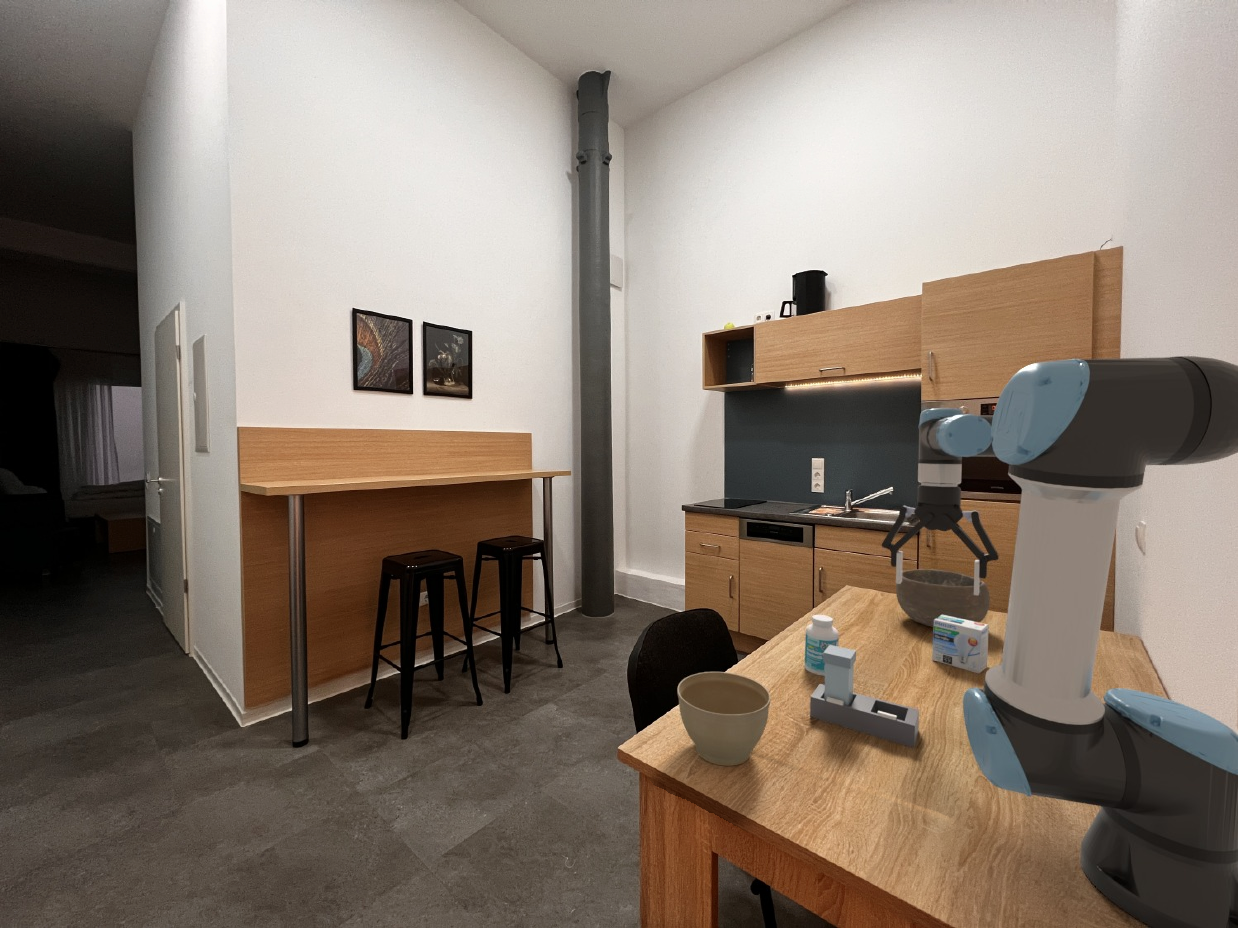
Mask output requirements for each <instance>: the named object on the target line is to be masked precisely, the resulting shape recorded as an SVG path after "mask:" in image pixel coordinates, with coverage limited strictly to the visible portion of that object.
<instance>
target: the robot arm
mask: <svg viewBox="0 0 1238 928" xmlns="http://www.w3.org/2000/svg"><path fill="white" fill-rule="evenodd" d="M1235 454H1238V365H1237V364H1234V363H1231V362H1229V361H1224V360H1223V359H1217V358H1212V357H1202V356H1194V355H1189V356H1188V355H1187V356H1186V355H1184V356H1183V355H1182V356H1179V355H1177V356H1169V357H1167V356H1166V357H1128V358H1125V357H1124V358H1092V359H1088V358H1087V359H1086V358H1083V359H1080V358H1076V357H1075V358H1074V357H1073V358H1072V359H1070V358H1069V359H1062V360H1061V359H1060V360H1050V361H1041V362H1035V363H1031V364H1029V365H1027V366H1025V367H1023V368H1021V369H1020V370H1018V371H1017V372H1016V373H1014V375H1013V376H1012V377H1011V378H1010V380H1009V381H1008V383H1006V385H1004V388H1003V390H1002V391H1001V394H1000V395H999V397H998V400H997V403H996V406H995V408H994V411H993V415H986V414H985V415H984V414H983V415H977V414H973V413H966V414H965V413H964V412H963V411H962V410H961V409H959V408H955V407H954V408H951V407H948V408H946V407H945V408H944V407H943V408H942V407H941V408H931V409H929V408H927V409H925V410H923V411H921V413H920V416H919V424H918V464H917V465H918V466H917V467H918V469H917V481H918V482H919V483H920V485H918V486H917V499H916V500H917V504H916V506H915V507H910V506H907V505H902V506H900V507H899V512H898V516H897V519H896V520H895V522H894V523H893V525H892V527H891V528H890V530H889V531H888V534H887V535H886V536H885V538H884V540H883V541H882V542H881V547H882V548H883V549H886V550H889V551H890V565H891V567H895V570H896V571H895V572H896V573H895V584H896V583H897V584H900V583H901V582H902V572H903V567H904V564H903V563H904V561H903V557H904V556H903V555H904V551H902V550H900V549H901V548H902V547H903V546H905V544H906V543H908V541H910V540H911V539H912V538H913V537H914V536H915V535H916V534H918V532H919V531H921V530H922V529H923V528H925V529H927V530H928V531H936V530H937V531H941V532H949V531H952V532H953V533H954V534H955V535H956V537H958V538H959V539H960V541H961V542H962V543H963V544H964V545H965V546H966V547H967V548H968V550H969V551H970V552H972V554H973V555H974V556H975V557H976V559H975V560H974V574H973V575H974V576H973V578H974V595H977V596H978V595H979V582H980V581H981V580H980V579H983V580H984V579H986V578H987V575H988V562H991V561H998V560H999V553H998V551H997V549H996V548H995V545H994V543H993V542H992V540H991V538H990V537H989V535H988V533H987V531H986V529H985V527H984V525H983V524H982V522H981V517H980V511H979V510H976V509H975V510H972V511H970V510H969V511H968V510H967V511H963V510H962V508H961V507H962V506H961V501H962V498H961V497H962V489H961V487H960V486H959V485H960V484H961V483H962V469H963V468H962V465H963V464H962V463H963V462H962V461H963V460H962V459H963V457H965V458H969V457H970V458H971V457H995V458H997V459H998V460H999V461H1000V462H1003V463H1006V464H1007V465H1008V473H1007V475H1008V476H1009V477H1010V478H1011V479H1012V480H1013V481H1014V482H1015V483H1016V484H1017V485H1018V486H1019V487H1020V488H1021V495H1020V506H1019V515H1018V523H1017V530H1016V538H1015V548H1014V555H1013V562H1012V563H1013V564H1012V573H1011V583H1010V589H1009V599H1008V605H1007V615H1006V622H1005V631H1004V640H1003V649H1002V657H1001V663H1000V664H999V663H998V664H997V665H994V666H991V667H990V668H989V669H987V671H986V672H985V676H984V679H985V680H984V686H983V688H979V687H976V686H975V687H972V688H968V689H966V691H964V694H963V697H962V698H963V699H962V709H963V710H962V711H963V719H964V725H965V730H966V734H967V738H968V742H969V745H970V746H969V747H970V748H971V751H972V754H973V756H974V759H975V761H976V763H977V765H978V768H979V769H980V771H981V773H982V774H983V776H984V777H985V778H986V780H987V781H989V783H991V784H992V785H993V786H995V787H997V788H999V789H1001V790H1006V791H1010V792H1013V793H1014V792H1015V793H1018V794H1024V795H1025V796H1026V797H1032V796H1035V797H1036V796H1037V797H1042V798H1048V799H1055V800H1059V801H1065V802H1066V801H1067V802H1073V803H1080V804H1086V805H1091V806H1097V807H1100V809H1099V810H1098V813H1097V814H1096V816H1095V817H1094V819H1093V821H1092V823H1091V825H1090V826H1089V828H1088V829H1087V831H1086V833H1085V834H1084V836H1083V838H1082V841H1081V845H1080V865H1081V868H1082V871H1083V872H1084V874H1085V876H1086V875H1087V876H1086V877H1087V879H1088V880H1089V879H1090V880H1089V881H1090V882H1091V883H1092V885H1094V886H1096V887H1095V888H1096V889H1097V890H1098V891H1099V892H1100V891H1101V892H1102V893H1101V894H1102V895H1103V896H1105V897H1106V898H1107V899H1108V900H1109V901H1111V902H1112V903H1113V904H1114V905H1116V906H1117V907H1119V908H1120V909H1122V910H1123V911H1124V912H1125V913H1128V915H1131V917H1134V918H1135V919H1137V920H1138V921H1140V922H1141V923H1143V922H1144V924H1145V925H1147V926H1149V927H1151V928H1238V733H1237V732H1235V730H1234V729H1232V728H1231V727H1229V726H1228V725H1226V723H1223V722H1221V721H1220V720H1218V719H1216V718H1215V717H1213V716H1211V715H1208V714H1206V713H1204V712H1202V711H1199V710H1197V709H1196V708H1193V707H1190V706H1188V705H1185V704H1182V703H1179V702H1177V701H1175V700H1172V699H1169V698H1165V697H1162V696H1159V695H1155V694H1152V693H1148V692H1144V691H1139V690H1136V689H1129V688H1123V687H1122V688H1121V687H1116V688H1111V689H1110V688H1109V689H1108V690H1107V691H1105V695H1103V701H1104V703H1103V701H1102V700H1101V699H1100V697H1099V696H1098V695H1097V694H1095V692H1094V691H1092V689H1091V688H1092V682H1093V677H1094V676H1093V675H1094V668H1095V663H1096V657H1097V649H1098V643H1099V637H1100V633H1101V632H1100V630H1101V626H1102V625H1101V624H1102V617H1103V612H1104V605H1105V600H1106V593H1107V587H1108V579H1109V574H1110V566H1111V560H1112V555H1113V549H1114V541H1115V535H1116V528H1117V521H1118V518H1119V517H1118V516H1119V509H1120V503H1121V500H1122V498H1124V497H1127V496H1129V495H1131V493H1134V492H1136V491H1138V490H1139V489H1142V487H1143V485H1144V484H1143V483H1144V476H1145V472H1146V466H1184V465H1185V466H1188V465H1195V464H1197V465H1198V464H1204V463H1209V462H1214V461H1219V460H1221V459H1226V458H1228V457H1231V456H1233V455H1235ZM912 514H914V515H915V516H916V518H917V519H918V520H919V521H918V522H917V523H916V524H915V525H914V526H913V527H912V528H910V530H908V531H907V533H905V534H904V535H903V536H902V537H901V538H900V539H899V540H898V541H896V543H895V544H894V543H892V542H893V540H894V539H895V538H896V536H897V534H898V533H899V531H900V530H901V528H902V526H903V524H904V523H905V522H906V520H907V518H910V517H911V516H912ZM963 518H966V520H967V522H969V523H972V526H973V528H974V529H975V532H976V533H977V535H978V537H979V538H980V541H981V543H982V544H983V546H984V548H985V550H986V551H987V553H984V550H982V549H981V548H980V547H979V546H978V544H976V542H974V540H973V539H972V538H971V536H969V534H967V533H966V531H965V530H964V529H963V528H962V527H961V525H960V524H959V522H960V521H961V520H962V519H963Z"/></svg>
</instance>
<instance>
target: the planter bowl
mask: <svg viewBox="0 0 1238 928" xmlns="http://www.w3.org/2000/svg"><path fill="white" fill-rule="evenodd" d="M676 689H677V692H676V693H677V697H678V707H679V713H680V717H681V721H682V723H683V726H684V728H685V731H686V732H687V735H688V736H689V738H690V740H691V741H692V742H693V744H694V746H695V749H696V752H697V753H698V756H700V757H701V758H702V759H703V760H705V761H707V762H709V763H711V764H714V765H719V766H728V767H729V766H737V765H741V764H743V763H745V762H746V761H748V760H749V758H750V757H751V753H752V750H754V748H755V747H757V745H758V743H759V742H760V740H761V738H762V736H763V734H764V732H765V728H766V726H767V723H768V717H769V709H770V704H771V694H770V691H769V690H768V689H767V688H766V687H765V686H764V685H763V684H762V683H760V682H758V681H756V680H755V679H752V678H750V677H748V676H744V675H741V674H737V673H733V672H732V673H731V672H724V671H704V672H698V673H695V674H691V675H689V676H687V677H684V678H683V679H681V681H680V682H679V683H678V686H677V688H676Z"/></svg>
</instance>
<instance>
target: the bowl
mask: <svg viewBox="0 0 1238 928" xmlns="http://www.w3.org/2000/svg"><path fill="white" fill-rule="evenodd" d="M895 593H896V600H897V602H898V604H899V607H900V608H901V609H902V611H903V612H904V613H905V614H906V615H907V616H908V617H909V618H910V619H911V620H913V621H915V622H916V623H919V624H921V625H924V626H927V627H931V628H934V619H936V618H938V617H939V616H941V615H947V616H951V617H956V618H960V619H965V620H969V621H974V622H978V623H982V622H983V620H984V619H985V618H986V616H987V614H988V611H989V608H990V600H991V599H990V598H991V597H990V591H989V589H988V587H987V584H986V583H985V582H984V581H983V580H980V582H979V595H978V596H977V595H974V577H972V576H970V575H965V574H962V573H960V572H954V571H950V570H949V571H948V570H940V569H925V568H924V569H923V568H918V569H917V568H916V569H907V570H902V582H901V583H900V584H897V583H896V582H895Z"/></svg>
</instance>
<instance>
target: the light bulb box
mask: <svg viewBox="0 0 1238 928" xmlns="http://www.w3.org/2000/svg"><path fill="white" fill-rule="evenodd" d="M932 628H933V632H932V653H931V654H932V657H931V658H932V661H934V662H938V663H942V664H943V665H948V666H952V667H955V668H959V669H962V670H965V671H969V672H972V673H976V674H980V673H982V672H983V671H984V670H985V669H986V668H988V657H989V656H988V654H989V653H988V652H989V651H988V649H989V628H990V627H989V624H988V623H987V624H986V623H982V622H980V623H978V622H974V621H969V620H965V619H960V618H956V617H951V616H947V615H941V616H939V617H938V618H936V619H934V627H932Z"/></svg>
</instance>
